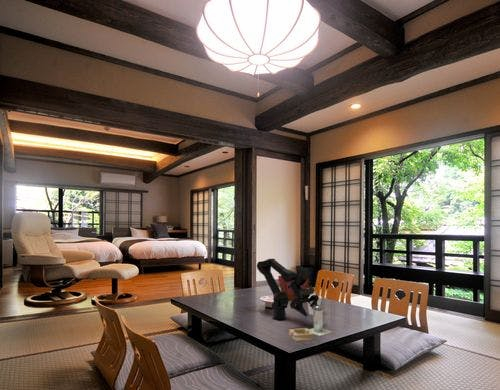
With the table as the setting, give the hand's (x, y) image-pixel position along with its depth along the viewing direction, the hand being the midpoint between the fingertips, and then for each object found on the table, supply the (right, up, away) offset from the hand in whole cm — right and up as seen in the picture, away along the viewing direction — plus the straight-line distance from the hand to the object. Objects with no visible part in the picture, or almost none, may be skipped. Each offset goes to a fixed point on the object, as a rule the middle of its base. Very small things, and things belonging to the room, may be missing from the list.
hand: (312, 314), depth 176 cm
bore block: (-8, -7, -12) cm, 16 cm away
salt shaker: (+2, -7, -4) cm, 9 cm away
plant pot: (-1, -15, +72) cm, 74 cm away
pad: (+2, -8, -4) cm, 9 cm away
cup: (+7, -11, +31) cm, 33 cm away
